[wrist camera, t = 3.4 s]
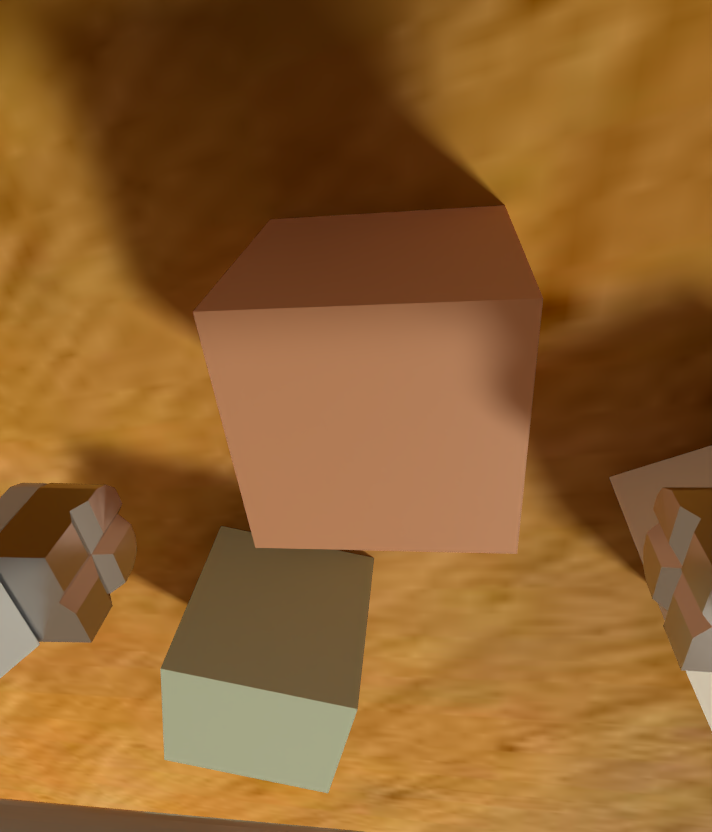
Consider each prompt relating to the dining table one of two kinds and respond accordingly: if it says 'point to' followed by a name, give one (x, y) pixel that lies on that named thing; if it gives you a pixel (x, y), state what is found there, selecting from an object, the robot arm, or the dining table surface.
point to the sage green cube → (268, 662)
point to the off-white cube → (637, 506)
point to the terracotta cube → (378, 379)
